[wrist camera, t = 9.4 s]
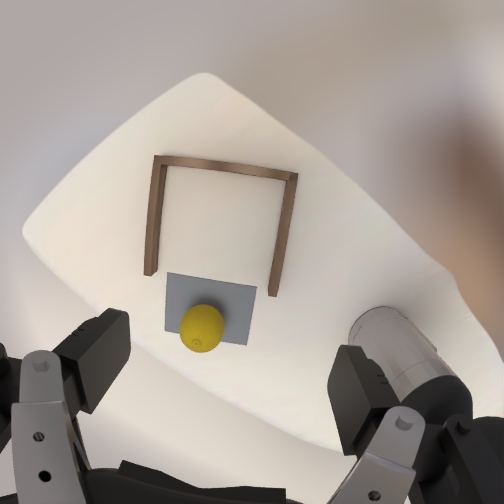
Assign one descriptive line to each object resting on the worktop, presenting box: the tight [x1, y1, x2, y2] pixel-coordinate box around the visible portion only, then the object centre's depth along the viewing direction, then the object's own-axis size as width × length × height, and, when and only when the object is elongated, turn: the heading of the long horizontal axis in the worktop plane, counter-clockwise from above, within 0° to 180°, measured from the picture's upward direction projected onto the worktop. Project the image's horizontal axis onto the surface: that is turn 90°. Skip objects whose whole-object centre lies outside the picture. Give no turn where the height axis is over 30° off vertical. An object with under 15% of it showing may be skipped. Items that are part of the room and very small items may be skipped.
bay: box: [144, 155, 298, 297], centre depth 35 cm, size 17×15×2 cm
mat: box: [165, 272, 257, 345], centre depth 39 cm, size 12×9×1 cm
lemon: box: [179, 304, 225, 353], centre depth 35 cm, size 6×6×8 cm
